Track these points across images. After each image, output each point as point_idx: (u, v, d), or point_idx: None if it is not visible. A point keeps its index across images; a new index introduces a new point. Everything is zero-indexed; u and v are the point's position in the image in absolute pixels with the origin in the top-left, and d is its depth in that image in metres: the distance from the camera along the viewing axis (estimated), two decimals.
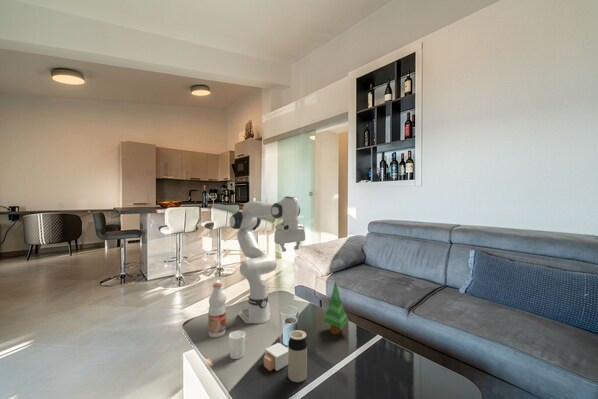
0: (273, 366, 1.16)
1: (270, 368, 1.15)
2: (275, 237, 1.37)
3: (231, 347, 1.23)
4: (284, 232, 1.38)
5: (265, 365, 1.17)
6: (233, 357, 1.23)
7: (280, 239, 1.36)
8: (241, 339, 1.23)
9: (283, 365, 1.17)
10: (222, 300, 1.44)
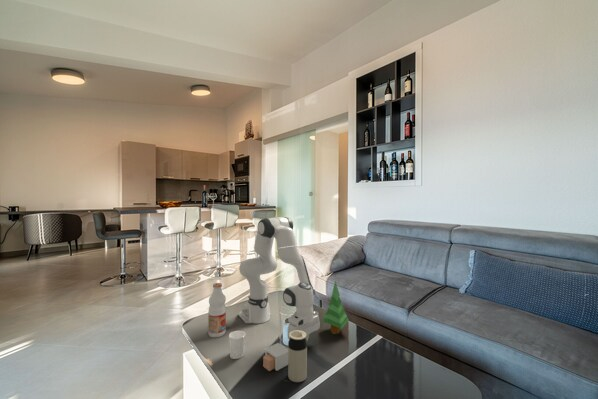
0: (272, 366, 1.16)
1: (269, 368, 1.15)
2: None
3: (231, 347, 1.23)
4: (298, 327, 1.27)
5: (264, 365, 1.17)
6: (233, 357, 1.23)
7: None
8: (241, 339, 1.23)
9: (283, 365, 1.17)
10: (222, 300, 1.44)
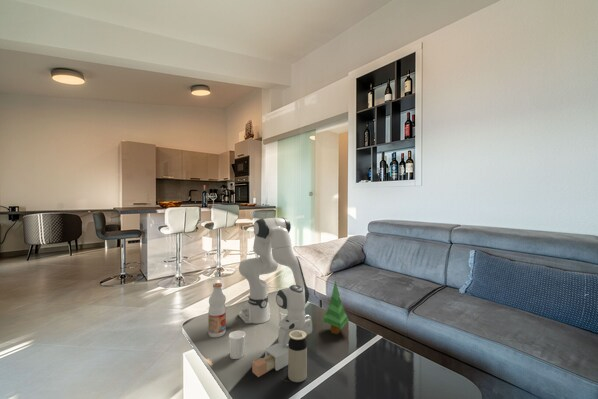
0: (262, 372, 1.12)
1: (259, 374, 1.11)
2: (280, 338, 1.22)
3: (231, 347, 1.23)
4: (289, 331, 1.23)
5: (253, 371, 1.13)
6: (233, 357, 1.23)
7: (285, 340, 1.21)
8: (241, 339, 1.23)
9: (283, 365, 1.17)
10: (222, 300, 1.44)
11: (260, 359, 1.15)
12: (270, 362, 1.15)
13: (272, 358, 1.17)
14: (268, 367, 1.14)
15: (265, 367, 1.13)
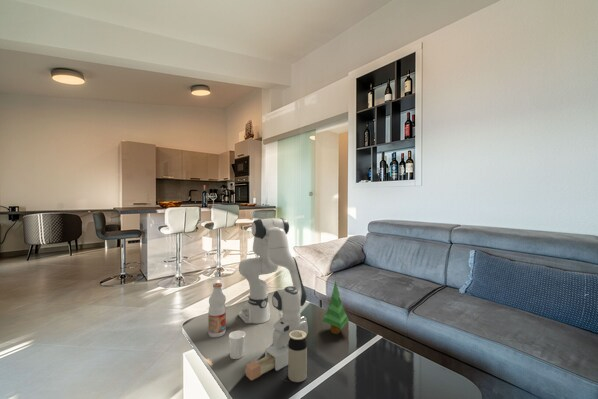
0: (255, 376, 1.10)
1: (252, 378, 1.08)
2: (274, 340, 1.20)
3: (231, 347, 1.23)
4: (284, 334, 1.20)
5: (247, 374, 1.10)
6: (233, 357, 1.23)
7: (279, 343, 1.19)
8: (241, 339, 1.23)
9: (283, 365, 1.17)
10: (222, 300, 1.44)
11: (254, 362, 1.13)
12: (264, 365, 1.13)
13: (266, 361, 1.15)
14: (262, 370, 1.12)
15: (259, 371, 1.11)
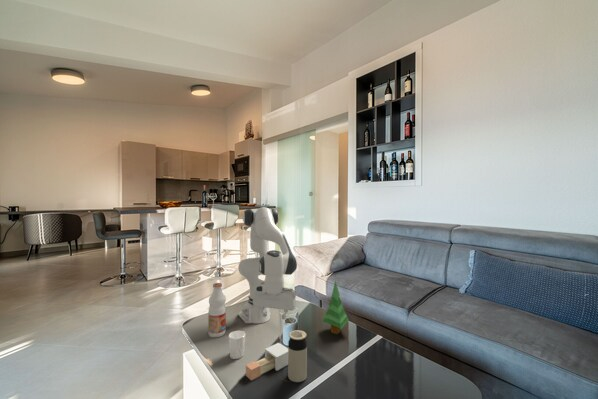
0: (255, 375, 1.09)
1: (252, 378, 1.08)
2: None
3: (231, 347, 1.23)
4: (259, 294, 1.18)
5: (247, 374, 1.10)
6: (233, 357, 1.23)
7: (255, 301, 1.19)
8: (241, 339, 1.23)
9: (283, 365, 1.17)
10: (222, 300, 1.44)
11: (254, 362, 1.13)
12: (263, 366, 1.13)
13: (266, 362, 1.15)
14: (261, 371, 1.12)
15: (259, 370, 1.11)
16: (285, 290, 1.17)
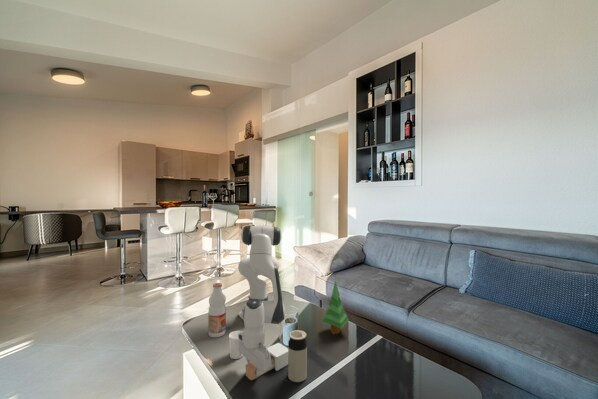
0: (255, 375, 1.09)
1: (252, 378, 1.08)
2: None
3: (231, 347, 1.23)
4: (242, 342, 1.15)
5: (247, 374, 1.10)
6: (233, 357, 1.23)
7: (239, 347, 1.17)
8: None
9: (283, 365, 1.17)
10: (222, 300, 1.44)
11: None
12: None
13: None
14: None
15: None
16: (260, 347, 1.07)
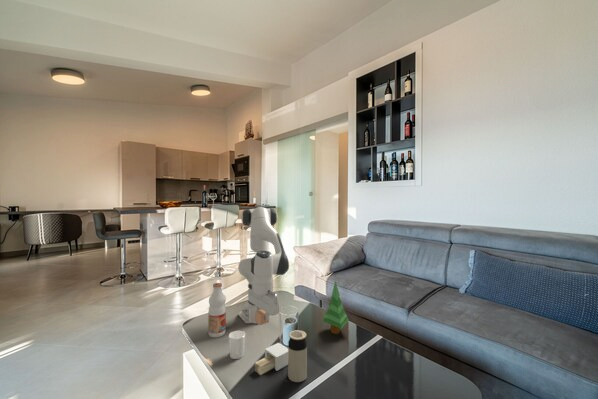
0: (264, 321, 1.16)
1: (261, 322, 1.15)
2: None
3: (231, 347, 1.23)
4: (252, 291, 1.21)
5: (256, 320, 1.17)
6: (233, 357, 1.23)
7: (249, 297, 1.23)
8: (241, 339, 1.23)
9: (283, 365, 1.17)
10: (222, 300, 1.44)
11: (262, 310, 1.20)
12: (264, 366, 1.13)
13: (266, 361, 1.15)
14: (262, 371, 1.12)
15: None
16: (269, 293, 1.13)
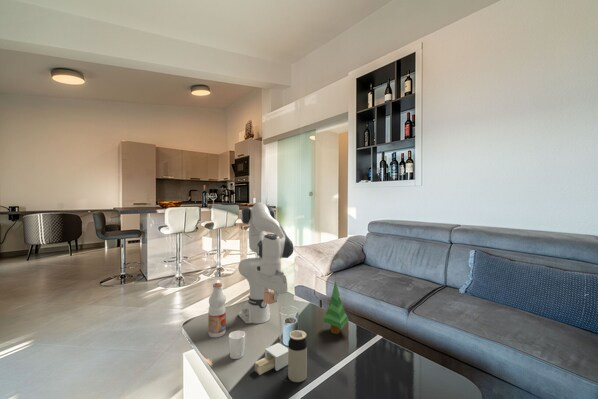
0: (272, 300, 1.21)
1: (270, 302, 1.20)
2: None
3: (231, 347, 1.23)
4: (260, 273, 1.26)
5: (265, 300, 1.22)
6: (233, 357, 1.23)
7: (257, 279, 1.28)
8: (241, 339, 1.23)
9: (283, 365, 1.17)
10: (222, 300, 1.44)
11: (271, 291, 1.24)
12: (263, 365, 1.13)
13: (266, 361, 1.15)
14: (261, 370, 1.12)
15: None
16: (278, 273, 1.19)
